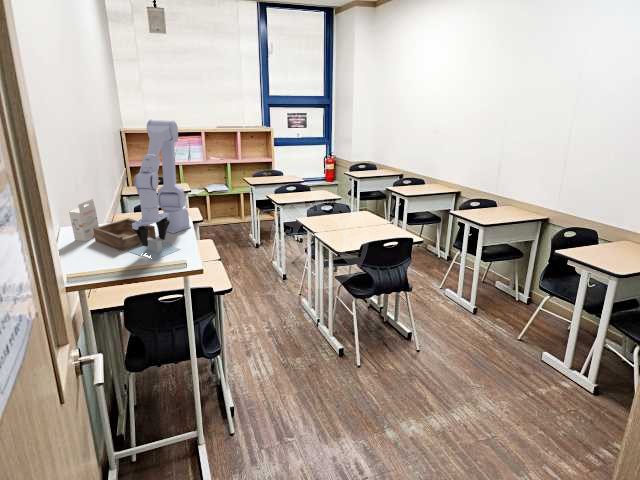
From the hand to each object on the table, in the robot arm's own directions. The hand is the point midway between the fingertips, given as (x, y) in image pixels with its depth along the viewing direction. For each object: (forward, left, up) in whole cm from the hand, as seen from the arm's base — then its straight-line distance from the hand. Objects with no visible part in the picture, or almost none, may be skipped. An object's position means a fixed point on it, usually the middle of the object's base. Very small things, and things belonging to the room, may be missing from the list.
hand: (153, 242), depth 158 cm
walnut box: (0, -17, -3) cm, 17 cm away
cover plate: (0, 0, -4) cm, 4 cm away
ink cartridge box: (+7, -31, -3) cm, 32 cm away
